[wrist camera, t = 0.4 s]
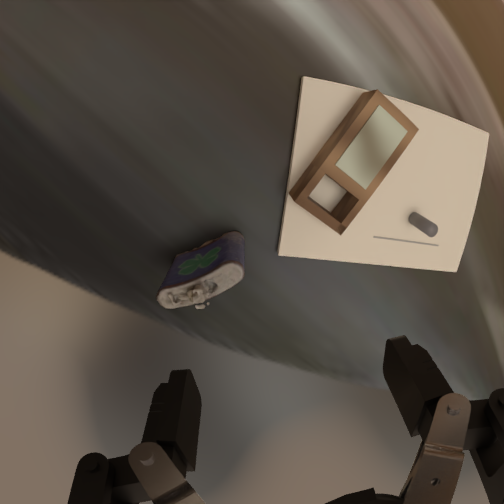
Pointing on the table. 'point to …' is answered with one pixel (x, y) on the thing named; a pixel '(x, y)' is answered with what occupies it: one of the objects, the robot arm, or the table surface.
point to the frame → (356, 158)
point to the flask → (204, 272)
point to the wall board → (387, 188)
